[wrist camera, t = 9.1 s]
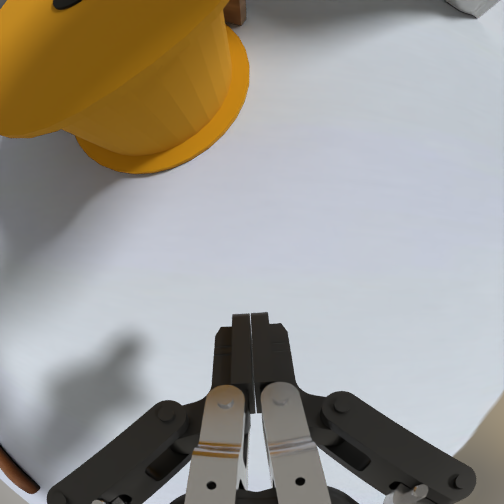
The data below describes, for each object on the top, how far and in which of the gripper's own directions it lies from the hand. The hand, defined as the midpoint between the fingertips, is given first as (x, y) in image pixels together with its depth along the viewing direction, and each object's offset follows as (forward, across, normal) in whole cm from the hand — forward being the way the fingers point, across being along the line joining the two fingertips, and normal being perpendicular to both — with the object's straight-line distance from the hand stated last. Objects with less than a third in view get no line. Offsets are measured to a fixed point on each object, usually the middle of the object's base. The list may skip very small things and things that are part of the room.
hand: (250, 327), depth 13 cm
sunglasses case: (-2, +51, +38) cm, 64 cm away
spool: (+19, +8, -11) cm, 24 cm away
